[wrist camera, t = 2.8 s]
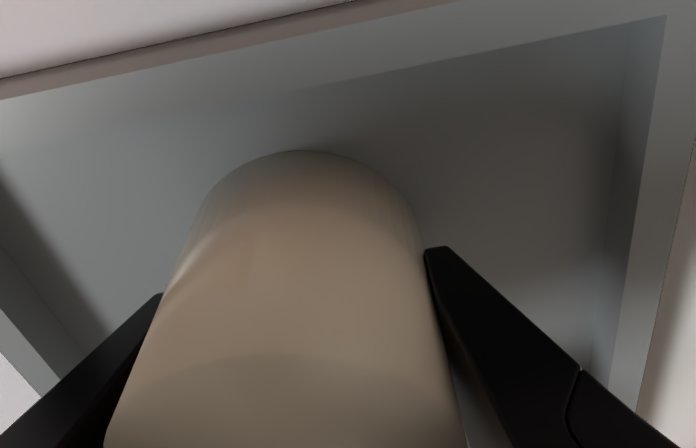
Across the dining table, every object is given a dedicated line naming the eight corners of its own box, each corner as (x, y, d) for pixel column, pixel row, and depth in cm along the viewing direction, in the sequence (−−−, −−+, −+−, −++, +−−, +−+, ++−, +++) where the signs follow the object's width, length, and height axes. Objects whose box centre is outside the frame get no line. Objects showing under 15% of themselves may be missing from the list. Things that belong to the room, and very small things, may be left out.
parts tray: (592, 462, 15) (613, 510, 14) (196, 510, 17) (186, 557, 15) (674, -70, 7) (737, -59, 6) (-119, 105, 8) (-191, 141, 7)
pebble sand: (431, 313, 11) (478, 534, 7) (236, 343, 11) (188, 565, 8) (403, 128, 8) (454, 324, 5) (155, 176, 9) (25, 389, 5)
